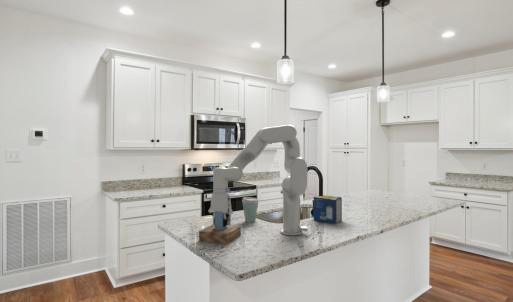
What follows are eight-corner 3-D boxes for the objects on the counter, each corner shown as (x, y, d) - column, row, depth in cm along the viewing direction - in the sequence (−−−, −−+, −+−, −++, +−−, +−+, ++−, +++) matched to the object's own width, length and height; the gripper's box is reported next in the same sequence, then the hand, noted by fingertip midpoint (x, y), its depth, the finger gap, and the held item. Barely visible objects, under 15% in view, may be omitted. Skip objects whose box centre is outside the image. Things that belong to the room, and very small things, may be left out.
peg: (226, 232, 154) (226, 210, 154) (222, 235, 150) (222, 211, 150) (218, 231, 156) (218, 209, 156) (214, 234, 152) (214, 211, 152)
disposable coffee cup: (259, 219, 193) (259, 196, 193) (257, 223, 182) (257, 199, 182) (243, 219, 194) (243, 196, 194) (240, 223, 183) (240, 199, 183)
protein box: (320, 217, 200) (320, 194, 199) (342, 221, 190) (342, 197, 190) (313, 220, 191) (313, 196, 191) (335, 224, 182) (335, 199, 182)
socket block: (240, 235, 158) (240, 226, 157) (227, 244, 143) (227, 234, 143) (214, 232, 163) (214, 223, 163) (199, 240, 148) (199, 231, 148)
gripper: (238, 190, 153) (238, 225, 153) (210, 189, 159) (210, 222, 160) (231, 192, 146) (231, 229, 146) (202, 191, 152) (202, 225, 153)
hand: (220, 225), depth 153 cm, fingers closed on peg, 4 cm apart
